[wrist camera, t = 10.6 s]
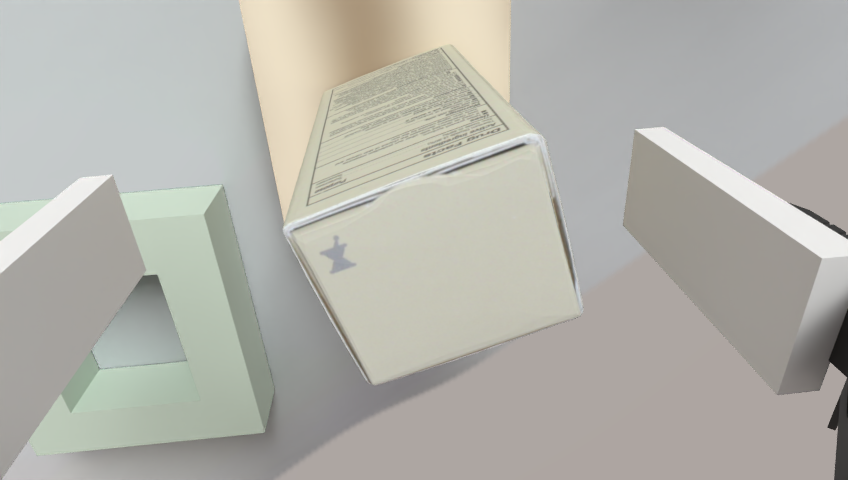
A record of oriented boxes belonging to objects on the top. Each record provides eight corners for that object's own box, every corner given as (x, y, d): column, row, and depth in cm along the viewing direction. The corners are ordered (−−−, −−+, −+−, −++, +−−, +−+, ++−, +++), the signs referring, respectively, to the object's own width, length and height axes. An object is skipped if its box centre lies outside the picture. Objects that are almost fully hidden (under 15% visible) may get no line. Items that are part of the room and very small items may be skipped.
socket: (222, 184, 24) (203, 214, 21) (274, 389, 30) (264, 432, 27) (-36, 206, 24) (-88, 239, 21) (68, 409, 29) (37, 455, 27)
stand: (494, -25, 21) (511, -21, 18) (494, 192, 25) (507, 221, 23) (256, -8, 21) (238, -1, 18) (297, 209, 25) (287, 240, 22)
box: (364, 193, 21) (354, 398, 12) (319, 88, 19) (261, 231, 10) (493, 147, 21) (593, 322, 11) (460, 35, 19) (546, 130, 9)
